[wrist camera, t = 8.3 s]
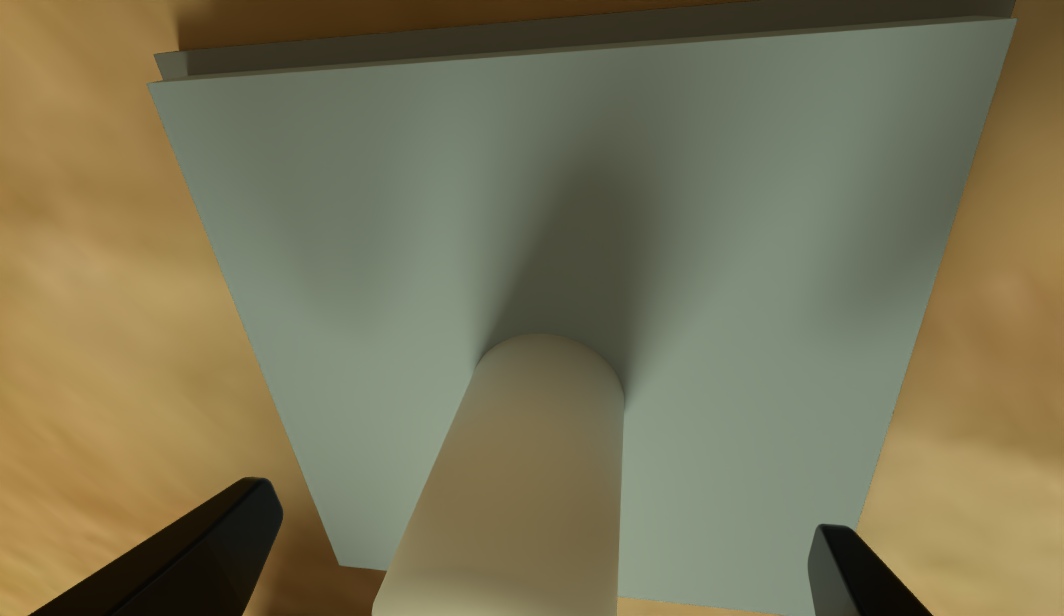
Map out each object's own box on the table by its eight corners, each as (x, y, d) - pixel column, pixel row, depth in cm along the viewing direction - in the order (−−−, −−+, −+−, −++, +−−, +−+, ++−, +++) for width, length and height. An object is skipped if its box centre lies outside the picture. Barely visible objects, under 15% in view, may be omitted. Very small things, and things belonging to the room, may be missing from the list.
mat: (997, -21, 8) (1022, -22, 7) (823, 576, 15) (830, 597, 14) (177, 50, 11) (153, 54, 10) (352, 530, 17) (343, 546, 17)
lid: (976, 16, 8) (1630, 61, 3) (816, 581, 14) (917, 917, 9) (187, 75, 10) (-270, 160, 5) (354, 536, 17) (227, 779, 11)
